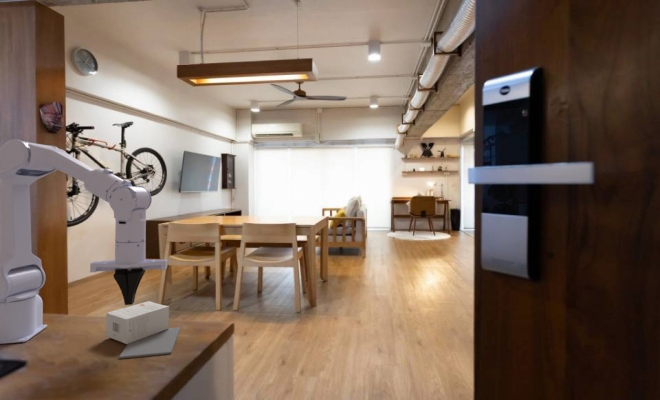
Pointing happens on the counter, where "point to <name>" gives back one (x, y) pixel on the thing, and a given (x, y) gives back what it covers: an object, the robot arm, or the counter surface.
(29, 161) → the robot arm
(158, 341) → the gray mat
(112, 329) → the small box
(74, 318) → the counter surface
